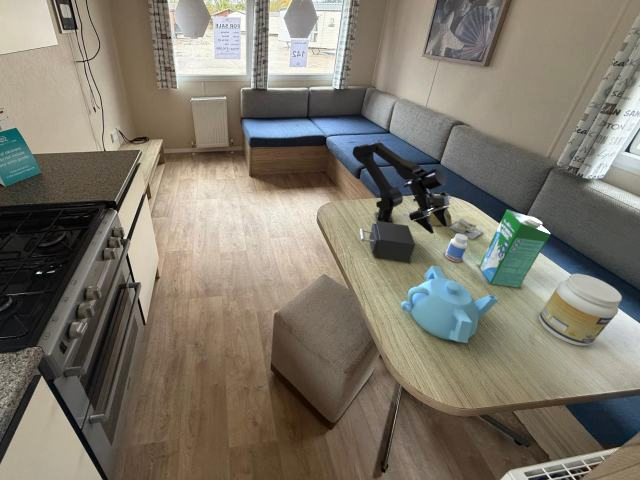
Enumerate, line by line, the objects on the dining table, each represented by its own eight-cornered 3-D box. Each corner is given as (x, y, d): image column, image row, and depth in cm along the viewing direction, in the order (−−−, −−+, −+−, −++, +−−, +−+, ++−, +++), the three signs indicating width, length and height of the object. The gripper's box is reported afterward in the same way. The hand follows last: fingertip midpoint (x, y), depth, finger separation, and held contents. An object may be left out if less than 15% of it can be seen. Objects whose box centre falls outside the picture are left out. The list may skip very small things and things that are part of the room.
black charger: (375, 257, 117) (380, 239, 113) (371, 238, 128) (376, 221, 124) (409, 263, 115) (415, 244, 111) (402, 242, 126) (408, 225, 122)
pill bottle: (462, 263, 115) (471, 242, 111) (446, 259, 117) (454, 239, 112) (459, 255, 120) (468, 234, 115) (444, 251, 122) (452, 231, 117)
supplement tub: (585, 356, 83) (623, 312, 75) (531, 324, 92) (559, 282, 84) (595, 333, 90) (631, 291, 82) (544, 306, 98) (571, 265, 90)
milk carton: (519, 288, 105) (554, 227, 93) (490, 283, 107) (521, 223, 95) (505, 270, 113) (537, 212, 101) (478, 266, 114) (506, 208, 103)
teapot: (453, 358, 82) (472, 322, 75) (390, 309, 95) (401, 276, 89) (485, 324, 91) (504, 290, 85) (423, 285, 105) (435, 253, 99)
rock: (453, 216, 141) (430, 207, 145) (461, 208, 133) (436, 199, 137) (446, 236, 138) (422, 226, 142) (452, 229, 130) (428, 219, 134)
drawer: (359, 252, 118) (362, 237, 115) (357, 235, 128) (360, 221, 125) (402, 259, 115) (407, 244, 112) (397, 241, 125) (401, 227, 122)
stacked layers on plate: (448, 227, 136) (452, 217, 134) (458, 222, 141) (462, 211, 138) (472, 239, 129) (477, 228, 126) (482, 233, 133) (487, 222, 131)
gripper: (425, 192, 112) (445, 232, 109) (452, 181, 121) (472, 218, 118) (400, 201, 121) (418, 238, 119) (428, 190, 130) (445, 225, 127)
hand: (439, 229), depth 120 cm, fingers open, 9 cm apart
